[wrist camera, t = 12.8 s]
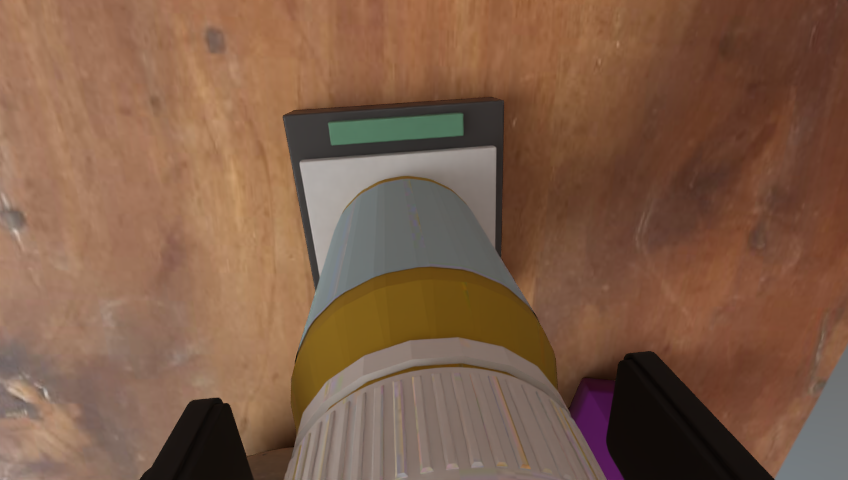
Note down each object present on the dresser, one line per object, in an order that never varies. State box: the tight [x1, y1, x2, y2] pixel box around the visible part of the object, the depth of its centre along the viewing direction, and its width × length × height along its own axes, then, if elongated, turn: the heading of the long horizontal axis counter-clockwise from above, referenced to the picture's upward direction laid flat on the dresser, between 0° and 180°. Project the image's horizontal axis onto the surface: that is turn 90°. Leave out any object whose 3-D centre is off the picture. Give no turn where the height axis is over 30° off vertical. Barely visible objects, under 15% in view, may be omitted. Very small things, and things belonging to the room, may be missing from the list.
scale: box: [283, 97, 504, 292], centre depth 21 cm, size 11×10×3 cm
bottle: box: [284, 176, 607, 480], centre depth 13 cm, size 7×7×15 cm
